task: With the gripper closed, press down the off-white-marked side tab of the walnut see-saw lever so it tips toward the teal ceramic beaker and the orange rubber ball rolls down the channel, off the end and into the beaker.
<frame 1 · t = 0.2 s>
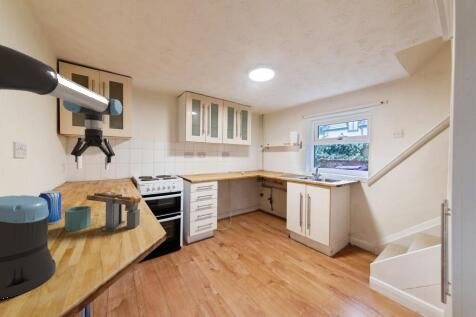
hand: (93, 169, 99), 28 cm above the countertop, fingers open, 13 cm apart
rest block: (133, 226, 92), on the countertop
beer can: (49, 223, 94), on the countertop
lever: (118, 199, 96), point 12 cm above the countertop, hinge at -8.0°, touching ball
ball: (133, 198, 92), point 14 cm above the countertop, tilted 16°, touching lever
teal beaker: (78, 227, 90), on the countertop
stand: (114, 226, 91), on the countertop
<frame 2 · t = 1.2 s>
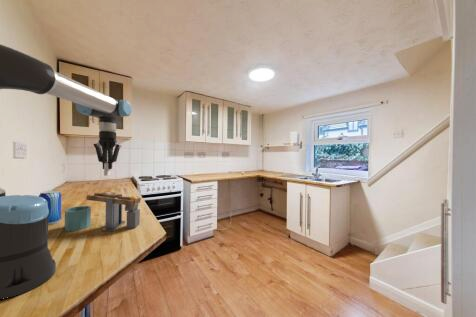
hand: (107, 175, 99), 24 cm above the countertop, fingers closed
nothing on the countertop moved.
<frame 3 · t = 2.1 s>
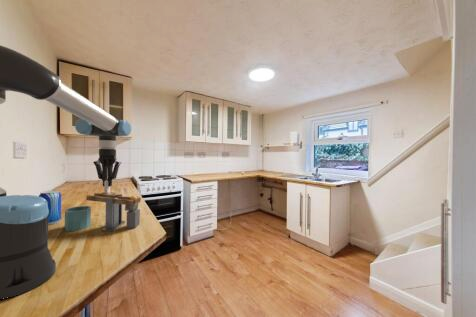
hand: (107, 192, 100), 15 cm above the countertop, fingers closed
lever: (118, 199, 96), point 12 cm above the countertop, hinge at -7.0°, touching gripper
ball: (133, 198, 92), point 14 cm above the countertop, tilted 15°
everything else where it was.
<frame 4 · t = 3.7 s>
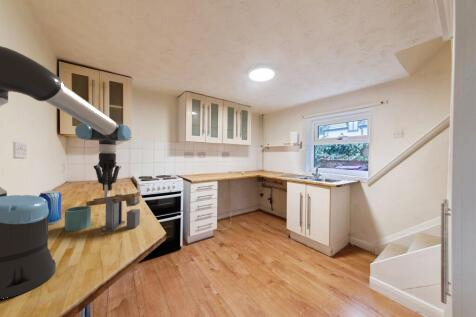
hand: (107, 196, 100), 13 cm above the countertop, fingers closed
lever: (119, 199, 96), point 12 cm above the countertop, hinge at 8.4°, touching gripper
ball: (82, 222, 90), point 2 cm above the countertop, tilted 133°, touching teal beaker
everything else where it was.
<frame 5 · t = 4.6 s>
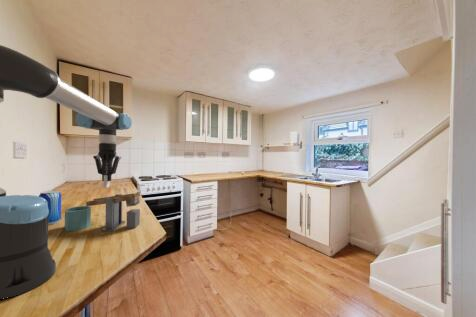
hand: (106, 187, 99), 18 cm above the countertop, fingers closed
lever: (119, 199, 96), point 12 cm above the countertop, hinge at 8.4°
ball: (80, 222, 90), point 2 cm above the countertop, tilted 166°, touching teal beaker
everything else where it was.
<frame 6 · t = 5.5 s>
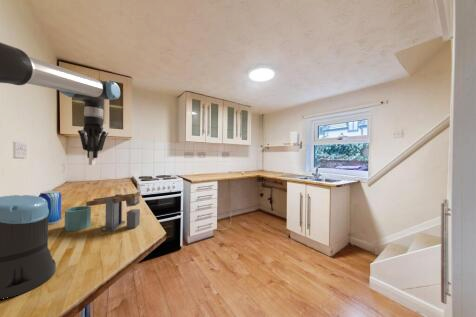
hand: (92, 164, 91), 30 cm above the countertop, fingers closed
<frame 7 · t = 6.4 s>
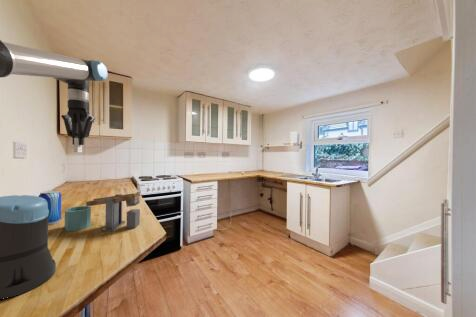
hand: (78, 152, 85), 36 cm above the countertop, fingers closed
ball: (77, 222, 90), point 2 cm above the countertop, tilted 128°, touching teal beaker
everything else where it was.
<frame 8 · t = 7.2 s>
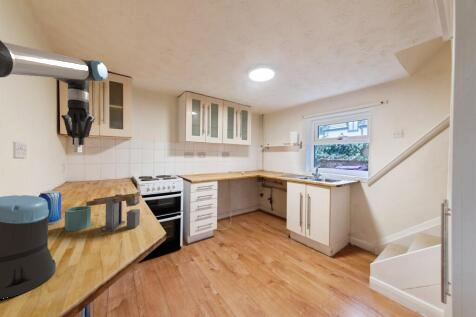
hand: (78, 152, 85), 36 cm above the countertop, fingers closed
ball: (75, 222, 90), point 2 cm above the countertop, tilted 98°, touching teal beaker
everything else where it was.
at the end: ball inside the target area on the teal beaker (1.4 cm from its centre), point 2.1 cm above the teal beaker's base; ball touching teal beaker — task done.
